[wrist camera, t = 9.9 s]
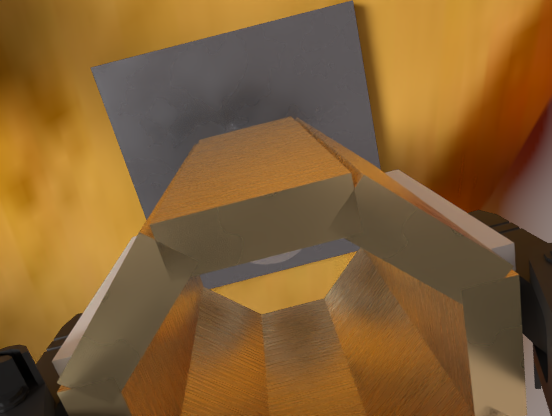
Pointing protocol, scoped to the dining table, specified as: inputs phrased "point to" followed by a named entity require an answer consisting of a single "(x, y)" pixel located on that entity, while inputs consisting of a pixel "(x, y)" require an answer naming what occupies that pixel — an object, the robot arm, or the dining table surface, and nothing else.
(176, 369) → the ring
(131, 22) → the dining table surface
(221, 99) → the pipe stub
